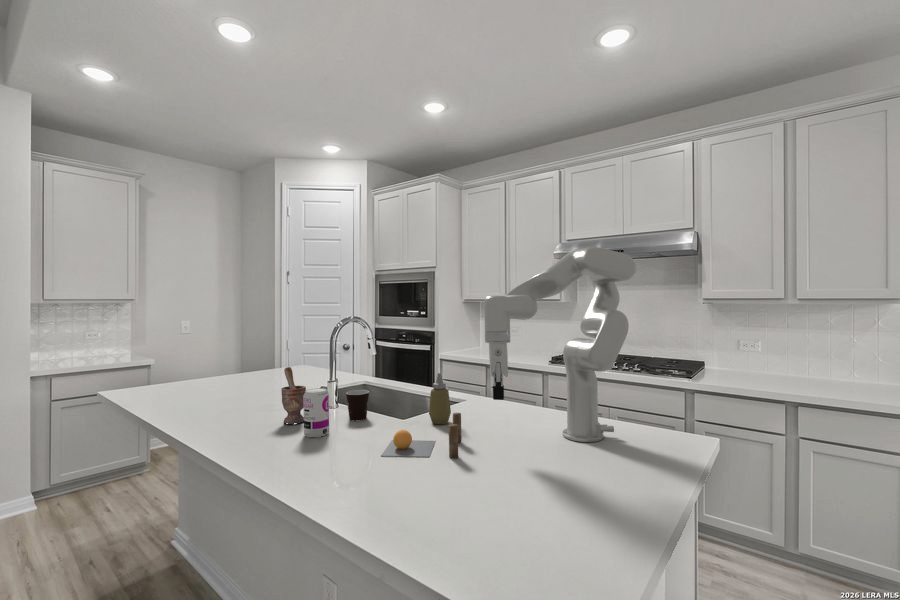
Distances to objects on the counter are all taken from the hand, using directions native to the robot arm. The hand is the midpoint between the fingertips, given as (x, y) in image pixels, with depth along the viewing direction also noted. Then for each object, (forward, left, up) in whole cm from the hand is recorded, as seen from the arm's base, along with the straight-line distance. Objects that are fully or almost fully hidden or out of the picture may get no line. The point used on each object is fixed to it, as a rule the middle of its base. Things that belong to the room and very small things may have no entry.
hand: (498, 399), depth 129 cm
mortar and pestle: (+77, -27, -15) cm, 83 cm away
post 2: (+13, +6, -15) cm, 21 cm away
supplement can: (+61, -12, -15) cm, 64 cm away
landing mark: (+27, 0, -15) cm, 31 cm away
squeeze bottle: (+21, -28, -15) cm, 38 cm away
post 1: (+13, -6, -15) cm, 21 cm away
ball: (+29, 0, -12) cm, 32 cm away
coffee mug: (+53, -34, -15) cm, 65 cm away
